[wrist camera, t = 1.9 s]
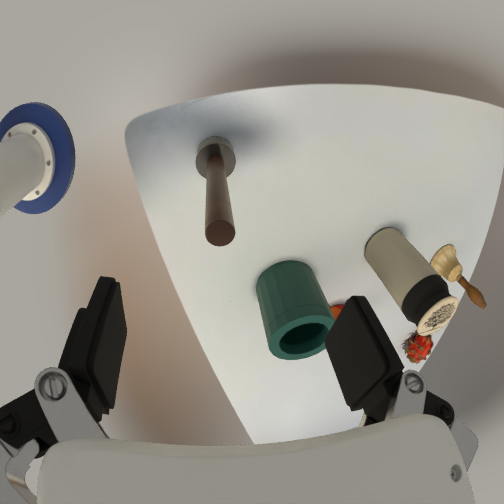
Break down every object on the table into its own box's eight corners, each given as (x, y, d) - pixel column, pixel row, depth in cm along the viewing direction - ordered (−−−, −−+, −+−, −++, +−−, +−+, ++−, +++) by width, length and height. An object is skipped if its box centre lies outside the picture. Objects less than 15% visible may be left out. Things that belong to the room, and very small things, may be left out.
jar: (250, 304, 48) (261, 360, 38) (264, 257, 43) (280, 314, 33) (303, 306, 50) (322, 358, 41) (322, 263, 45) (349, 315, 35)
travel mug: (373, 224, 42) (437, 298, 27) (406, 229, 44) (467, 295, 29) (357, 263, 46) (407, 340, 32) (390, 264, 48) (440, 333, 33)
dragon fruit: (400, 348, 72) (415, 318, 67) (423, 354, 69) (439, 325, 63) (398, 366, 65) (415, 336, 60) (423, 372, 62) (441, 343, 56)
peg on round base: (195, 167, 33) (180, 260, 17) (200, 134, 31) (187, 195, 15) (229, 171, 34) (248, 266, 18) (235, 139, 32) (264, 205, 16)
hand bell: (431, 251, 48) (477, 302, 35) (457, 239, 47) (501, 285, 34) (426, 279, 53) (464, 329, 40) (451, 267, 52) (489, 312, 39)
